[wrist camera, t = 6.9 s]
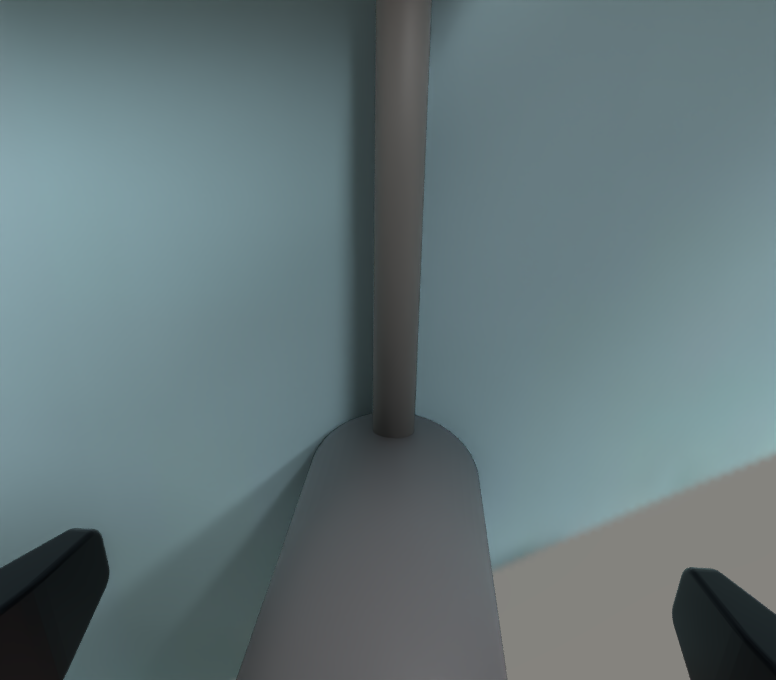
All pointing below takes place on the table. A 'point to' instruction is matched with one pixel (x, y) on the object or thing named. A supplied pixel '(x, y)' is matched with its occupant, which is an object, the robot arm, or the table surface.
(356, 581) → the tethered block
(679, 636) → the robot arm
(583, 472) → the table surface
